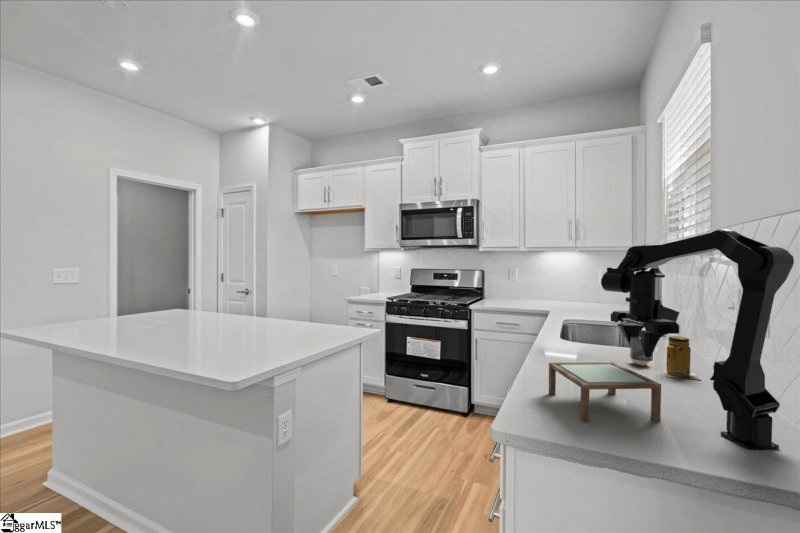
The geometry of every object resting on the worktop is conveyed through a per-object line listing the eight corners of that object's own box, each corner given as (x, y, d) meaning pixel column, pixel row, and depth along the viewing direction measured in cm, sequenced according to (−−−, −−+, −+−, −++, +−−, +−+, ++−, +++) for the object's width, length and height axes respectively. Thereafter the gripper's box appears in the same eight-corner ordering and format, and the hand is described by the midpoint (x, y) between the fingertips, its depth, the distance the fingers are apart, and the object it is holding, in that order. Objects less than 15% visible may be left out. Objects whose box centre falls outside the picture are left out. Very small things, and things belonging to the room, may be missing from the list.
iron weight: (657, 361, 96) (657, 339, 96) (638, 361, 96) (638, 339, 96) (644, 356, 101) (644, 335, 101) (625, 356, 101) (626, 335, 101)
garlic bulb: (625, 363, 133) (625, 340, 133) (636, 361, 136) (637, 339, 136) (644, 368, 127) (644, 344, 127) (656, 366, 130) (656, 343, 130)
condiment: (662, 370, 125) (663, 334, 125) (694, 374, 122) (695, 336, 121) (668, 377, 118) (669, 339, 118) (701, 381, 115) (702, 341, 115)
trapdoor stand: (660, 421, 87) (661, 384, 86) (583, 422, 86) (583, 385, 86) (612, 392, 105) (613, 362, 104) (548, 393, 104) (549, 362, 104)
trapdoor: (646, 385, 88) (646, 381, 88) (587, 386, 88) (587, 382, 88) (610, 367, 102) (610, 364, 102) (559, 368, 102) (559, 364, 102)
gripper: (702, 298, 89) (701, 364, 89) (648, 291, 108) (647, 346, 108) (655, 298, 89) (654, 364, 89) (609, 291, 107) (609, 346, 108)
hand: (641, 354), depth 99 cm, fingers closed on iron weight, 5 cm apart
